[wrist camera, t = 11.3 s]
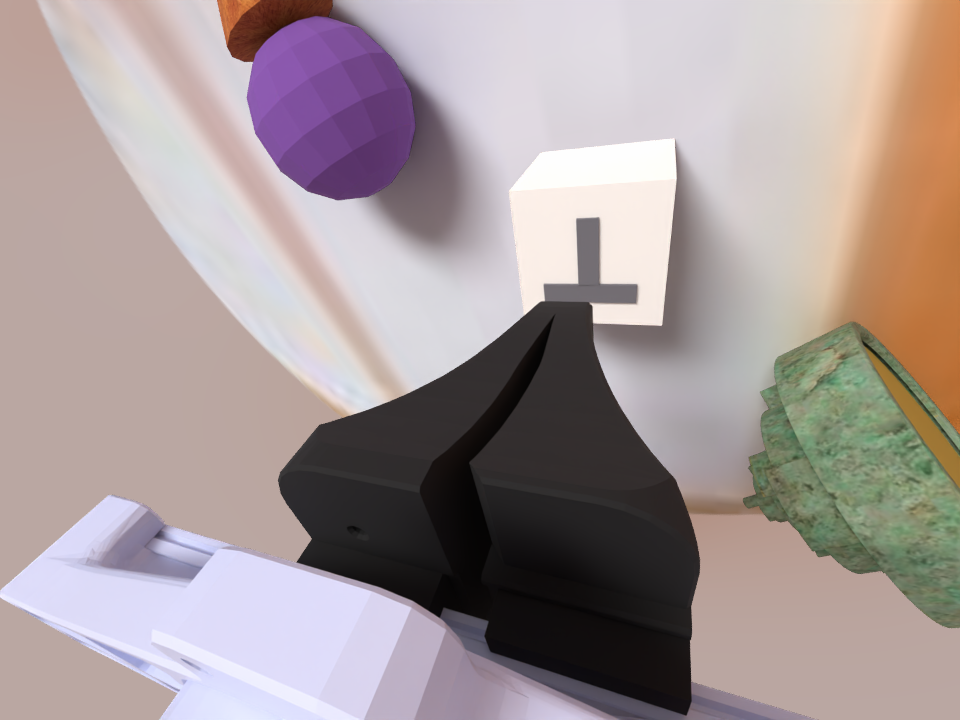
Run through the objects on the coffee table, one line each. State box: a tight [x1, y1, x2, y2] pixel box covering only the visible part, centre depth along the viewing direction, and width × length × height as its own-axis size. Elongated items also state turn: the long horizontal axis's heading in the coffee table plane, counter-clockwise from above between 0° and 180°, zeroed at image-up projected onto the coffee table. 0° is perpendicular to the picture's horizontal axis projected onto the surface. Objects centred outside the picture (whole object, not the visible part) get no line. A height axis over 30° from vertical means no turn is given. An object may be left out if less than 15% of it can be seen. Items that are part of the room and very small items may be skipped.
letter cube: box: [509, 138, 677, 326], centre depth 16 cm, size 5×5×5 cm
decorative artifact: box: [743, 322, 960, 628], centre depth 17 cm, size 10×7×10 cm
